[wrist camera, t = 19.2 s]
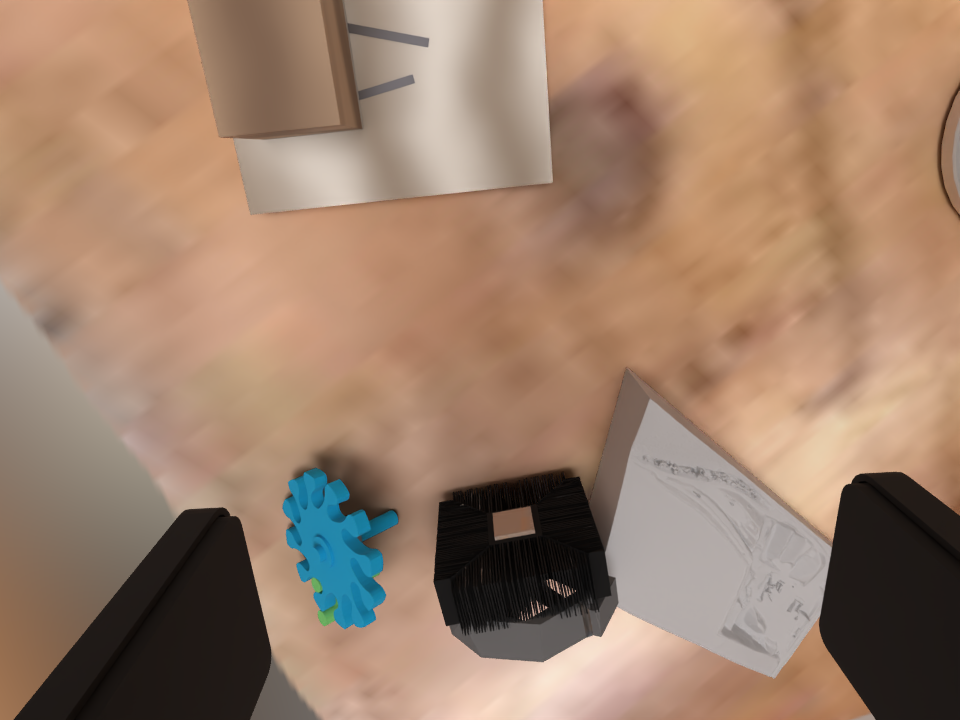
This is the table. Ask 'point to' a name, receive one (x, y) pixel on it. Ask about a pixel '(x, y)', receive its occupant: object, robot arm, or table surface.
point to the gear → (336, 549)
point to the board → (421, 110)
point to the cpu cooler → (522, 570)
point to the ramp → (703, 538)
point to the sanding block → (277, 67)
